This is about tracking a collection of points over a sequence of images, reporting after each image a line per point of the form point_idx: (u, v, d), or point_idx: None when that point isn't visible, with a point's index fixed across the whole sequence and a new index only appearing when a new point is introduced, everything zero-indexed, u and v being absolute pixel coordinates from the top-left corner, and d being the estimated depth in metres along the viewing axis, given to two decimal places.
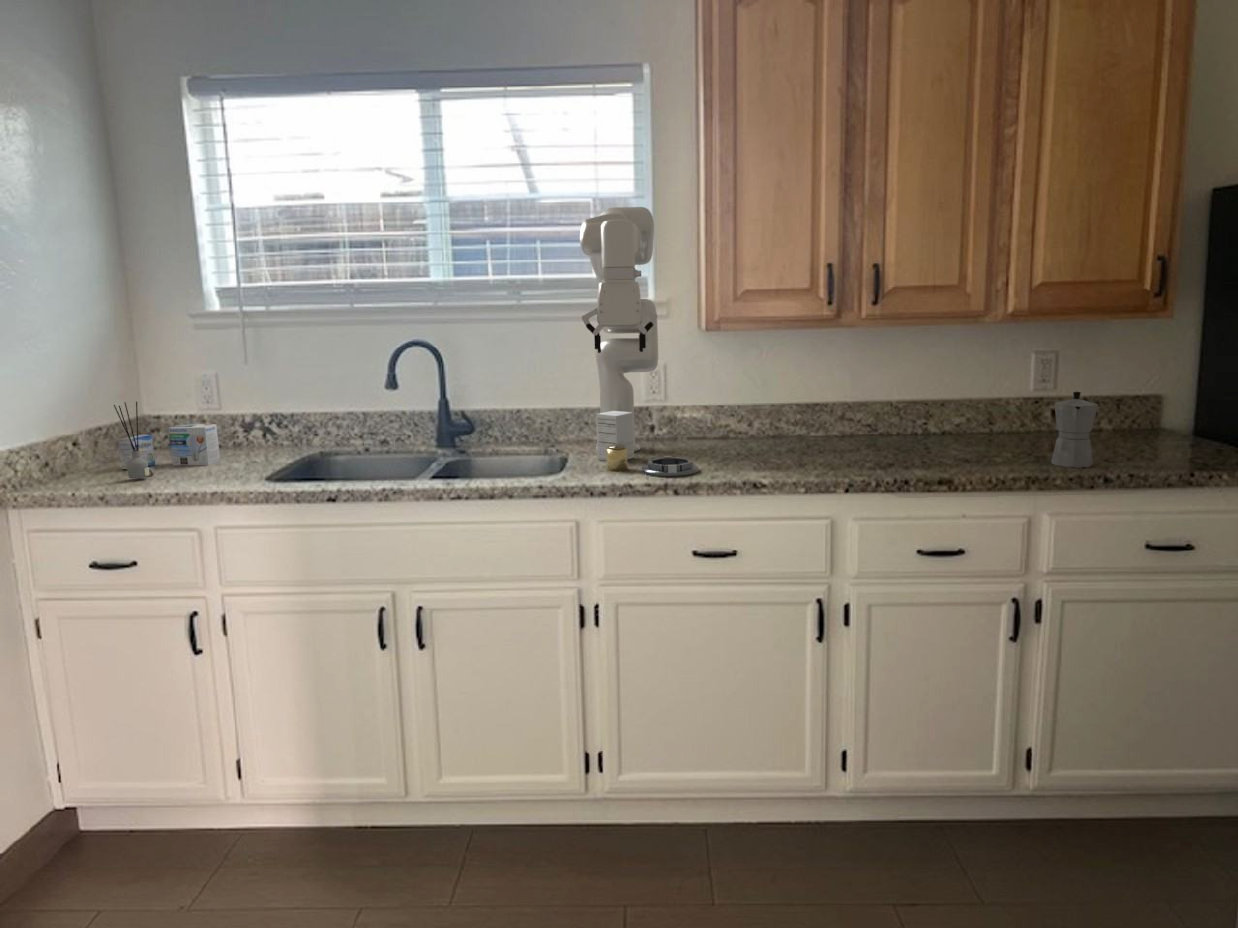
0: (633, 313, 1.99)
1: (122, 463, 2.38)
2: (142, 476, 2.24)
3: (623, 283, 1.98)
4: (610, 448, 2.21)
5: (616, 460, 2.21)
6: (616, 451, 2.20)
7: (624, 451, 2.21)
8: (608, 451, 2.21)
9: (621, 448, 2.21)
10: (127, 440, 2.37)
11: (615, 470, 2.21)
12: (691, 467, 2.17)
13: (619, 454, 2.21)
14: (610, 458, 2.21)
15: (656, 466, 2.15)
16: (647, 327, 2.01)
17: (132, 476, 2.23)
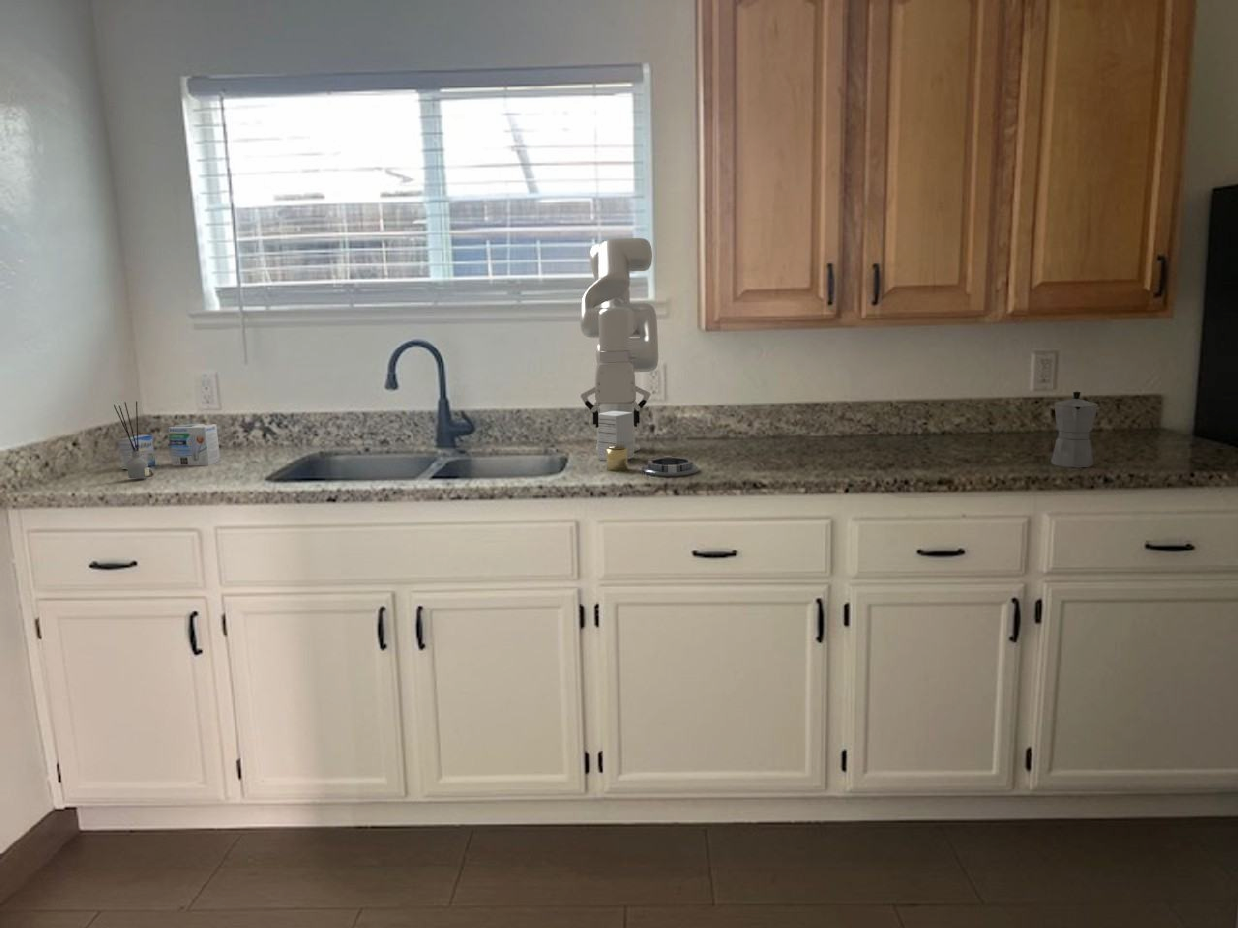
0: (628, 392, 2.18)
1: (122, 463, 2.38)
2: (142, 476, 2.24)
3: (619, 365, 2.16)
4: (610, 448, 2.21)
5: (616, 460, 2.21)
6: (616, 451, 2.20)
7: (624, 451, 2.21)
8: (608, 451, 2.22)
9: (621, 448, 2.21)
10: (127, 440, 2.37)
11: (615, 470, 2.21)
12: (691, 467, 2.17)
13: (619, 454, 2.21)
14: (610, 458, 2.21)
15: (656, 466, 2.15)
16: (640, 405, 2.20)
17: (132, 476, 2.23)
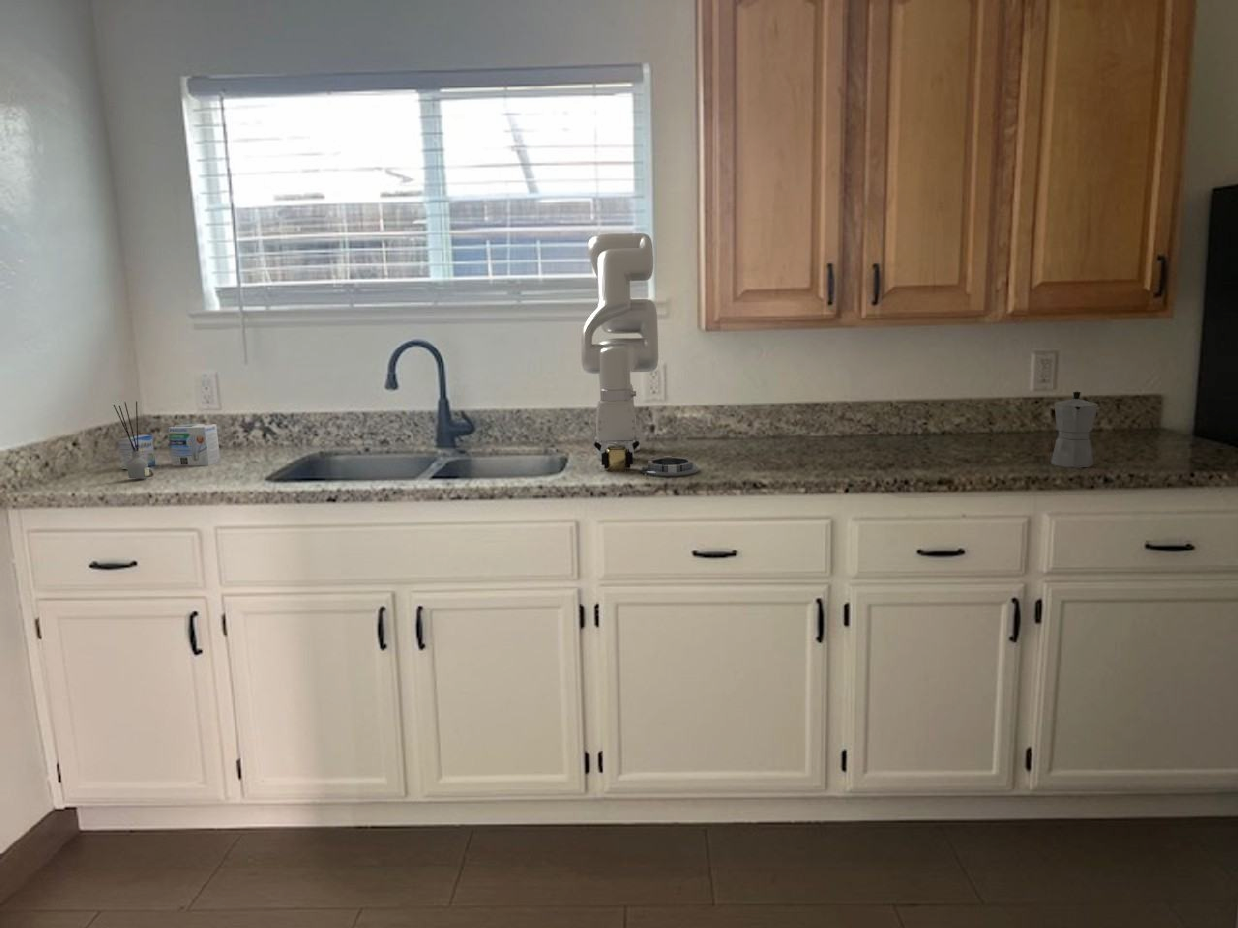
0: (629, 430, 2.20)
1: (122, 463, 2.38)
2: (142, 476, 2.24)
3: (620, 403, 2.18)
4: (610, 448, 2.21)
5: (616, 460, 2.21)
6: (616, 451, 2.20)
7: (624, 451, 2.21)
8: (608, 451, 2.21)
9: (621, 448, 2.21)
10: (127, 440, 2.37)
11: (615, 470, 2.21)
12: (691, 467, 2.17)
13: (619, 454, 2.21)
14: (610, 458, 2.21)
15: (656, 466, 2.15)
16: (634, 446, 2.22)
17: (132, 476, 2.23)
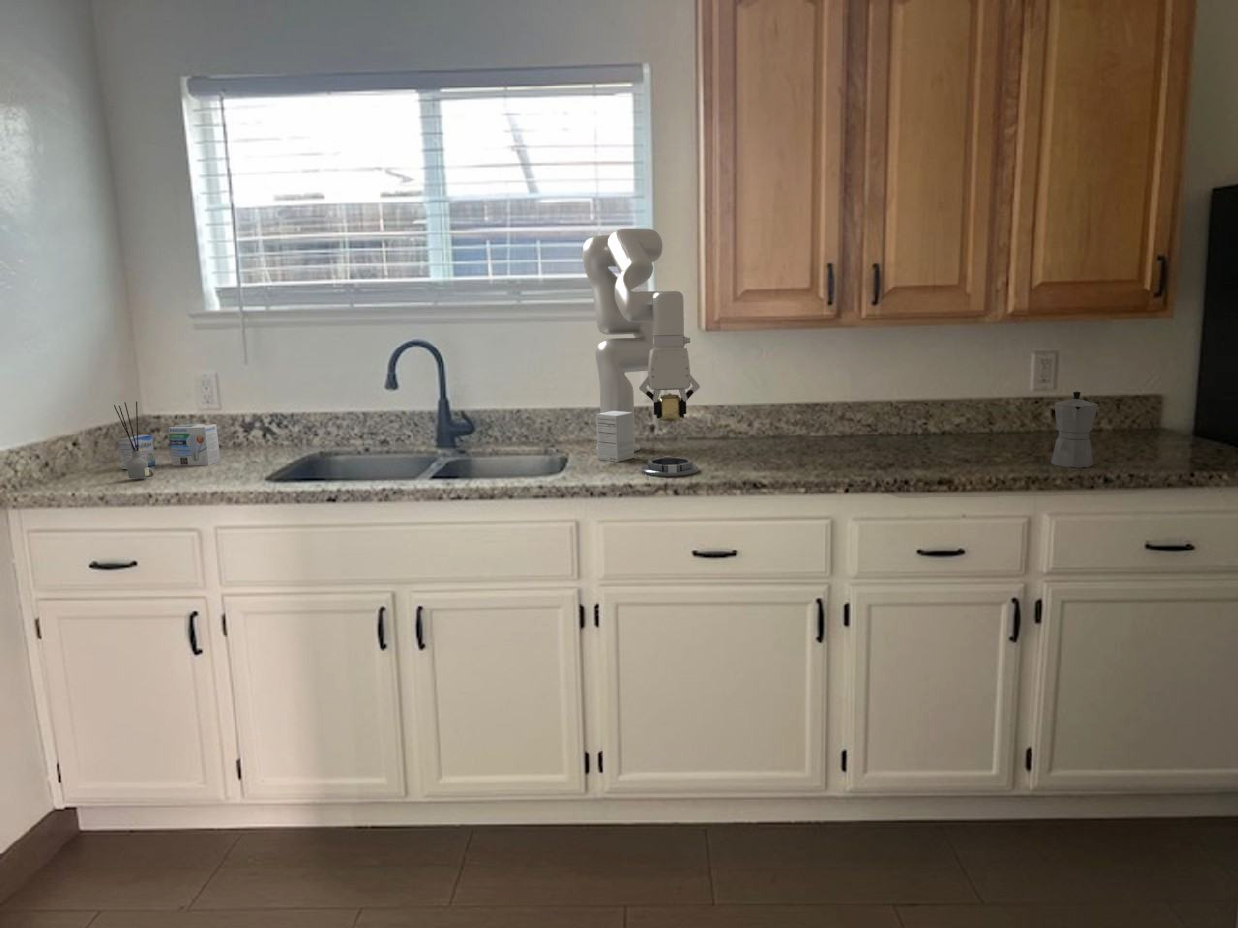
0: (683, 377, 2.13)
1: (122, 463, 2.38)
2: (142, 476, 2.24)
3: (673, 350, 2.11)
4: (663, 397, 2.14)
5: (670, 409, 2.13)
6: (669, 399, 2.13)
7: (678, 400, 2.14)
8: (661, 400, 2.14)
9: (674, 396, 2.14)
10: (127, 440, 2.37)
11: (668, 419, 2.14)
12: (691, 467, 2.17)
13: (673, 403, 2.13)
14: (664, 407, 2.14)
15: (656, 466, 2.15)
16: (687, 395, 2.15)
17: (132, 476, 2.23)
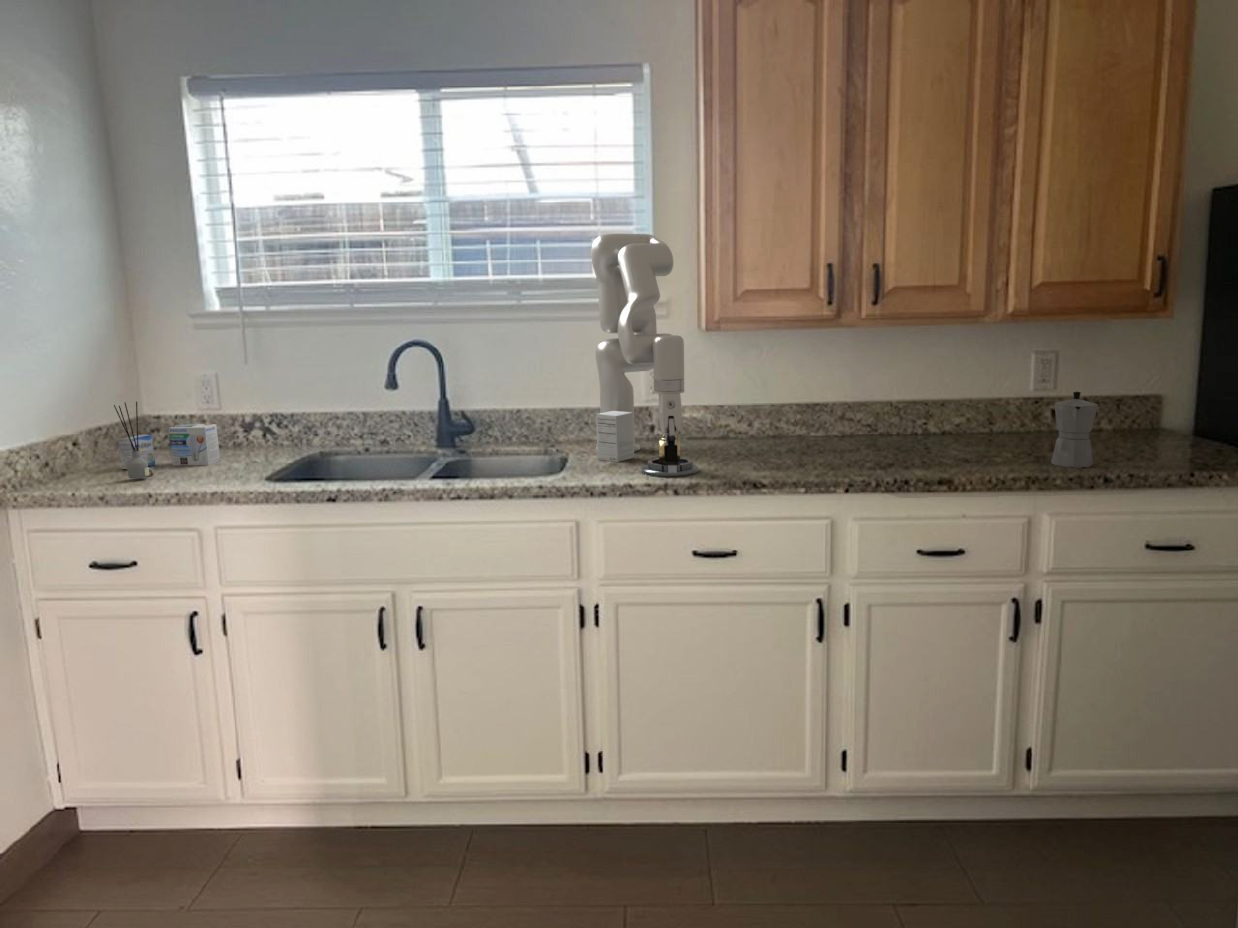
0: (661, 422, 2.14)
1: (122, 463, 2.38)
2: (142, 476, 2.24)
3: (659, 393, 2.15)
4: None
5: None
6: None
7: (662, 443, 2.16)
8: None
9: (662, 439, 2.17)
10: (127, 440, 2.37)
11: None
12: (691, 467, 2.17)
13: (659, 445, 2.17)
14: None
15: (656, 466, 2.15)
16: (667, 440, 2.13)
17: (132, 476, 2.23)
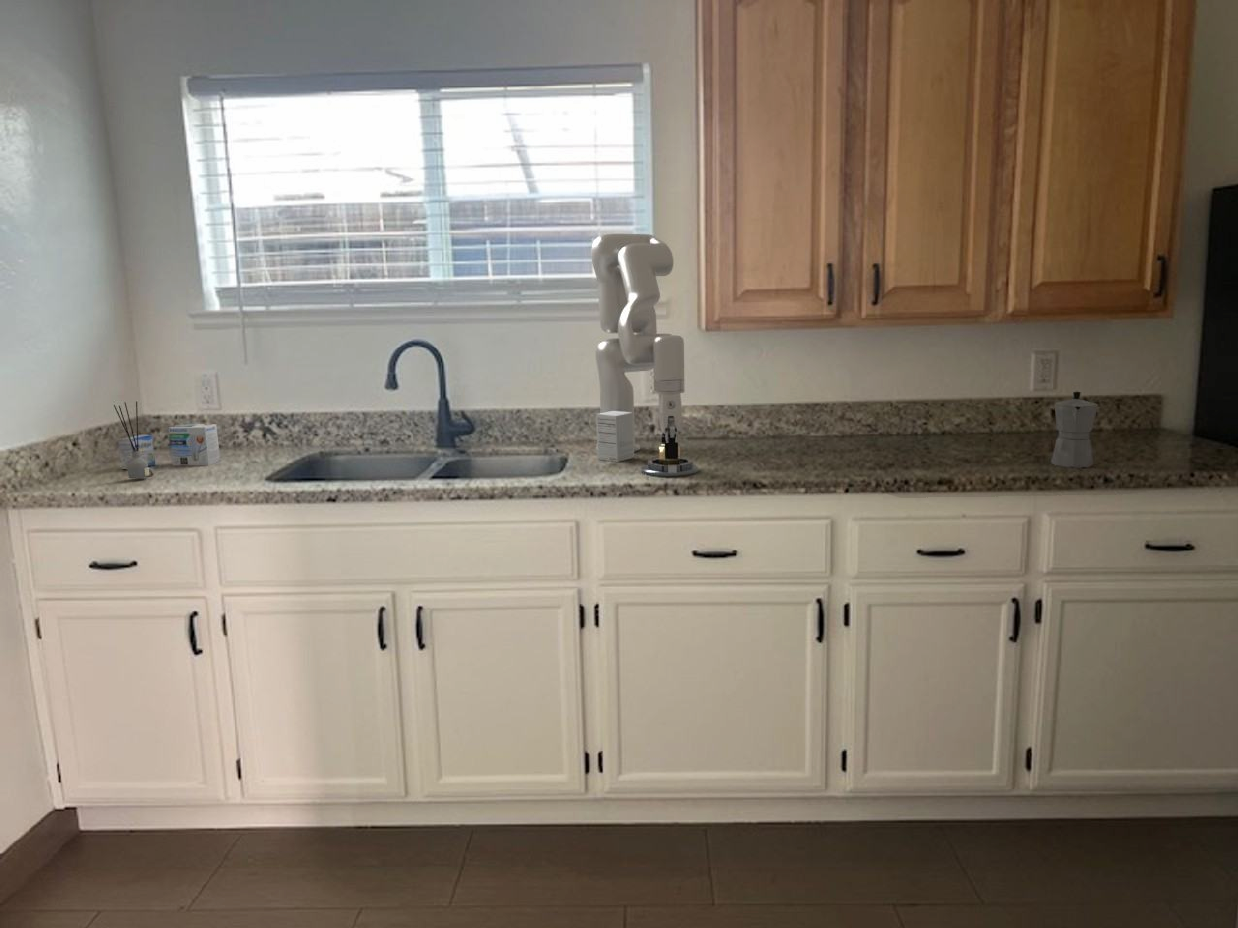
0: (661, 422, 2.14)
1: (122, 463, 2.38)
2: (142, 476, 2.24)
3: (659, 394, 2.15)
4: None
5: None
6: None
7: (662, 449, 2.16)
8: None
9: (662, 445, 2.17)
10: (127, 440, 2.37)
11: None
12: (691, 467, 2.17)
13: (659, 451, 2.18)
14: None
15: (656, 466, 2.15)
16: (668, 437, 2.11)
17: (132, 476, 2.23)
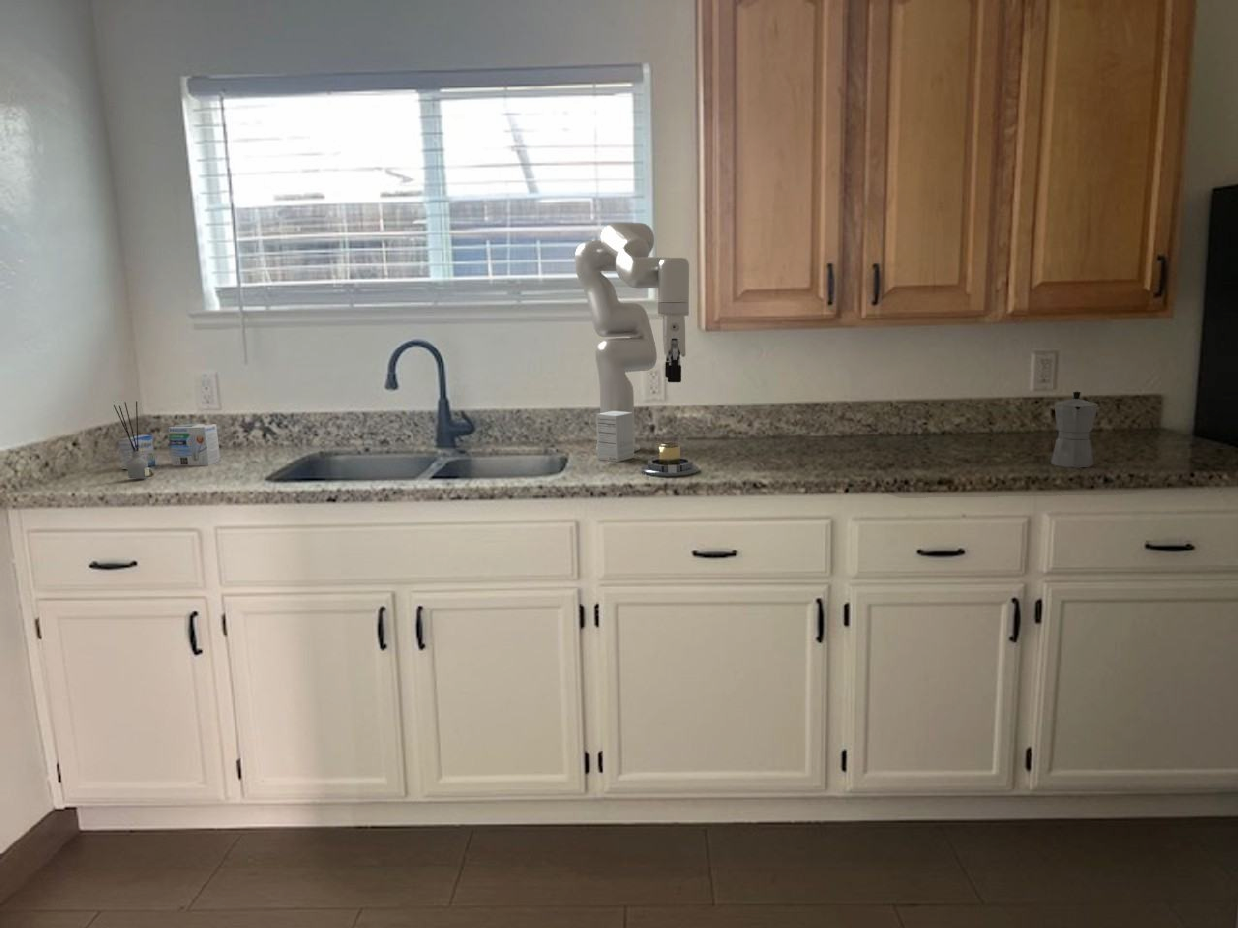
0: (664, 345, 2.14)
1: (122, 463, 2.38)
2: (142, 476, 2.24)
3: (663, 317, 2.15)
4: None
5: None
6: None
7: (662, 449, 2.16)
8: None
9: (662, 445, 2.17)
10: (127, 440, 2.37)
11: None
12: (691, 467, 2.17)
13: (659, 451, 2.18)
14: None
15: (656, 466, 2.15)
16: (671, 360, 2.12)
17: (132, 476, 2.23)
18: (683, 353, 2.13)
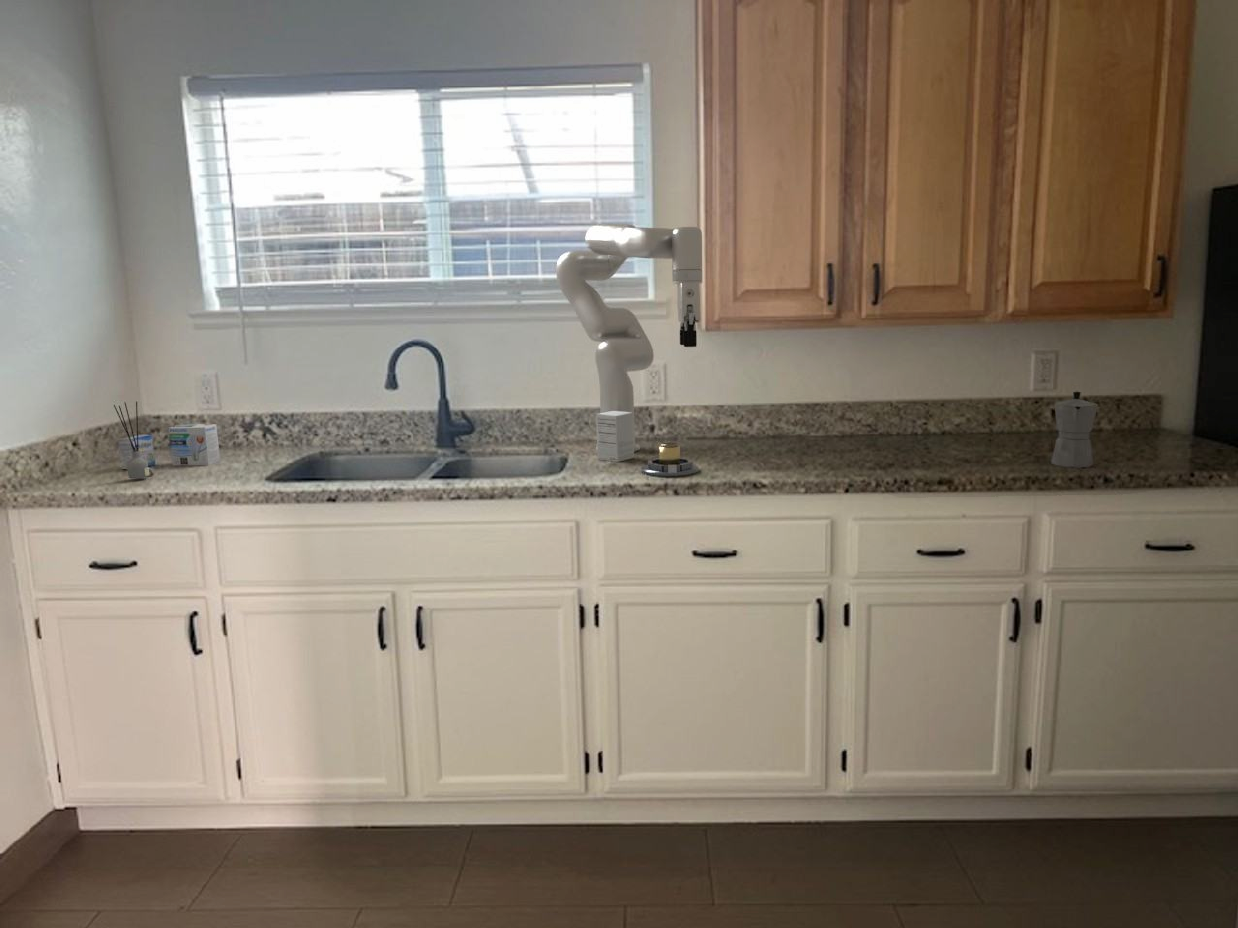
0: (680, 311, 2.21)
1: (122, 463, 2.38)
2: (142, 476, 2.24)
3: (678, 284, 2.22)
4: None
5: None
6: None
7: (662, 449, 2.16)
8: None
9: (662, 445, 2.17)
10: (127, 440, 2.37)
11: None
12: (691, 467, 2.17)
13: (659, 451, 2.18)
14: None
15: (656, 466, 2.15)
16: (687, 325, 2.19)
17: (132, 476, 2.23)
18: (698, 318, 2.20)
